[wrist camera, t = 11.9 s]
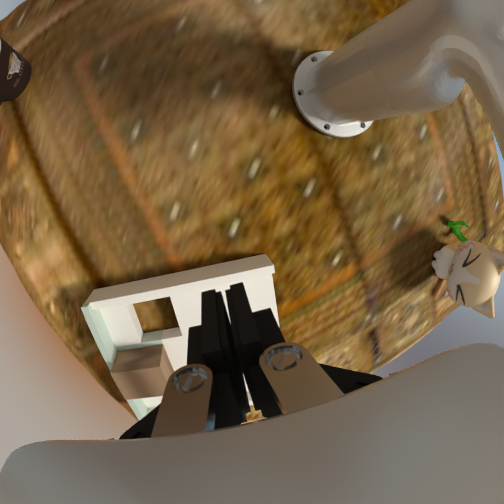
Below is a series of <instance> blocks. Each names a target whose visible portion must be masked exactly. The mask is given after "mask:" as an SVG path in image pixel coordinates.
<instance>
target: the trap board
mask: <svg viewBox="0 0 504 504" xmlns="http://www.w3.org/2000/svg"><path fill="white" fill-rule="evenodd" d="M272 273H275V270H274V265H273V263H272V262H271V261H270V259H269V258H268V257H267V255H266V254H262V255H257V256H252V257H248V258H243V259H238V260H233V261H229V262H224V263H219V264H214V265H210V266H205V267H200V268H195V269H191V270H186V271H181V272H176V273H172V274H167V275H162V276H157V277H152V278H148V279H143V280H138V281H133V282H128V283H124V284H119V285H114V286H109V287H104V288H99V289H94V290H93V292H92V293H91V294H90V296H89V297H88V298H87V300H86V301H85V303H84V304H83V305H82V307H81V310H82V312H83V314H84V317H85V319H86V322H87V324H88V326H89V328H90V331H91V333H92V335H93V337H94V339H95V342H96V344H97V346H98V348H99V350H100V352H101V354H102V356H103V358H104V360H105V362H106V364H107V366H108V368H109V370H110V372H111V369H112V366H113V363H114V360H115V357H116V354H117V352H118V351H122V350H129V349H135V348H142V347H148V346H154V345H160V344H163V345H164V348H165V350H166V353H167V355H168V358H169V360H170V363H171V365H172V367H173V370H174V371H176V370H177V369H179V368H181V367H183V366H186V365H187V347H188V330H189V327H193V326H198V325H201V292H204V291H208V290H212V289H215V290H216V292H219V291H221V293H222V296H223V300H224V303H225V306H226V310H227V313H228V317H229V311H228V305H227V299H226V293H225V290H227V289H230V285H233V284H237V283H241V282H243V284H244V287H245V291H246V294H247V297H248V300H249V304H250V307H251V310H252V312H256V311H259V310H263V309H267V308H271V310H272V312H273V315H274V317H275V319H276V321H277V324H278V326H279V321H278V313H277V306H276V299H275V292H274V285H273V278H272ZM169 296H170V298H171V302H172V305H173V308H174V311H175V314H176V318H177V321H178V324H179V327H176V328H171V329H166V330H160V331H154V332H148V333H143V330H142V328H141V325H140V323H139V320H138V317H137V315H136V312H135V309H134V306H133V303H138V302H143V301H148V300H154V299H159V298H164V297H169ZM229 320H230V317H229ZM230 324H231V323H230ZM243 376H244V375H243ZM244 381H245V378H244ZM245 386H246V391H247V395H248V400H249V405H253V402H252V399H251V396H250V393H249V390H248V387H247V384H246V381H245ZM162 397H163V396H158V397H149V398H140V399H130V400H127V402H128V403H129V405H130V406H131V408H132V410H133V411H134V413H135V414H136V416H137V418H138V419H139V421H140V420H141V419H142V418H143V417H144V416H146V415H147V414H148V413H149V412H151V411H152V410H153V409H154V408H155V407H157V406H158V405H159V404H160V403H161V400H162Z"/></svg>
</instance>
